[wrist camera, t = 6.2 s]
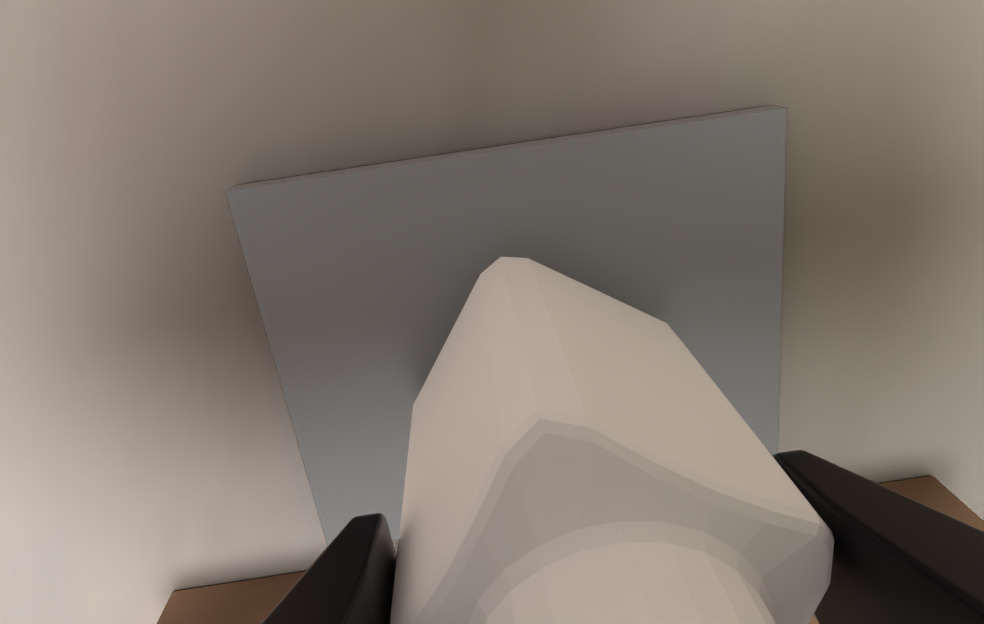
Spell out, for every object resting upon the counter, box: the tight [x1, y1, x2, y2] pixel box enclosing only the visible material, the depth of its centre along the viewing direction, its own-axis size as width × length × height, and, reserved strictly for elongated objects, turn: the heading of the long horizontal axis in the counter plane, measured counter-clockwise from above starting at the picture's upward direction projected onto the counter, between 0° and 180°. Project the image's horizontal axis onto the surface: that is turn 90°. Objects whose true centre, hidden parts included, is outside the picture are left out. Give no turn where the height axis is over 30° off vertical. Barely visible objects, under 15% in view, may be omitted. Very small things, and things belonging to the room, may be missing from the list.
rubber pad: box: [225, 105, 787, 546], centre depth 14 cm, size 10×8×1 cm
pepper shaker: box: [390, 257, 834, 624], centre depth 8 cm, size 4×4×10 cm
